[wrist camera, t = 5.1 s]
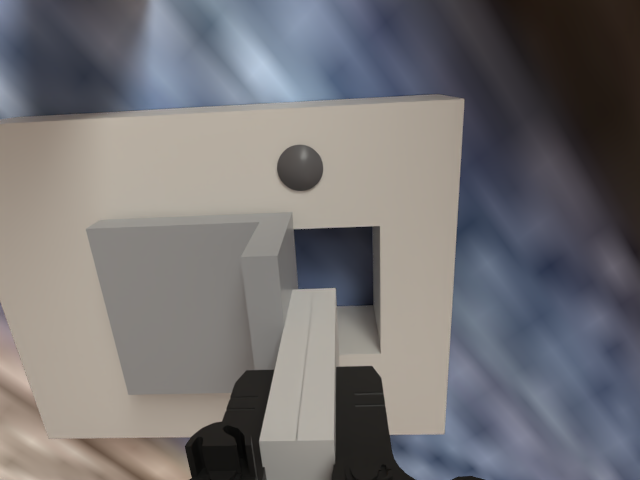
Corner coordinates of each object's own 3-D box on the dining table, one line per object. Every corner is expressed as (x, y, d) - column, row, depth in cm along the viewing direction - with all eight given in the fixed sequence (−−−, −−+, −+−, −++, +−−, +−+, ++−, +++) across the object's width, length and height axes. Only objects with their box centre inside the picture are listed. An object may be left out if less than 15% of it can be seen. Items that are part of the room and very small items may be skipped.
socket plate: (438, 94, 18) (465, 98, 14) (427, 375, 23) (444, 436, 19) (17, 116, 19) (-65, 127, 15) (94, 381, 24) (47, 440, 20)
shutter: (292, 212, 15) (277, 256, 12) (305, 375, 18) (296, 454, 14) (100, 219, 16) (27, 264, 12) (139, 378, 18) (87, 456, 14)
